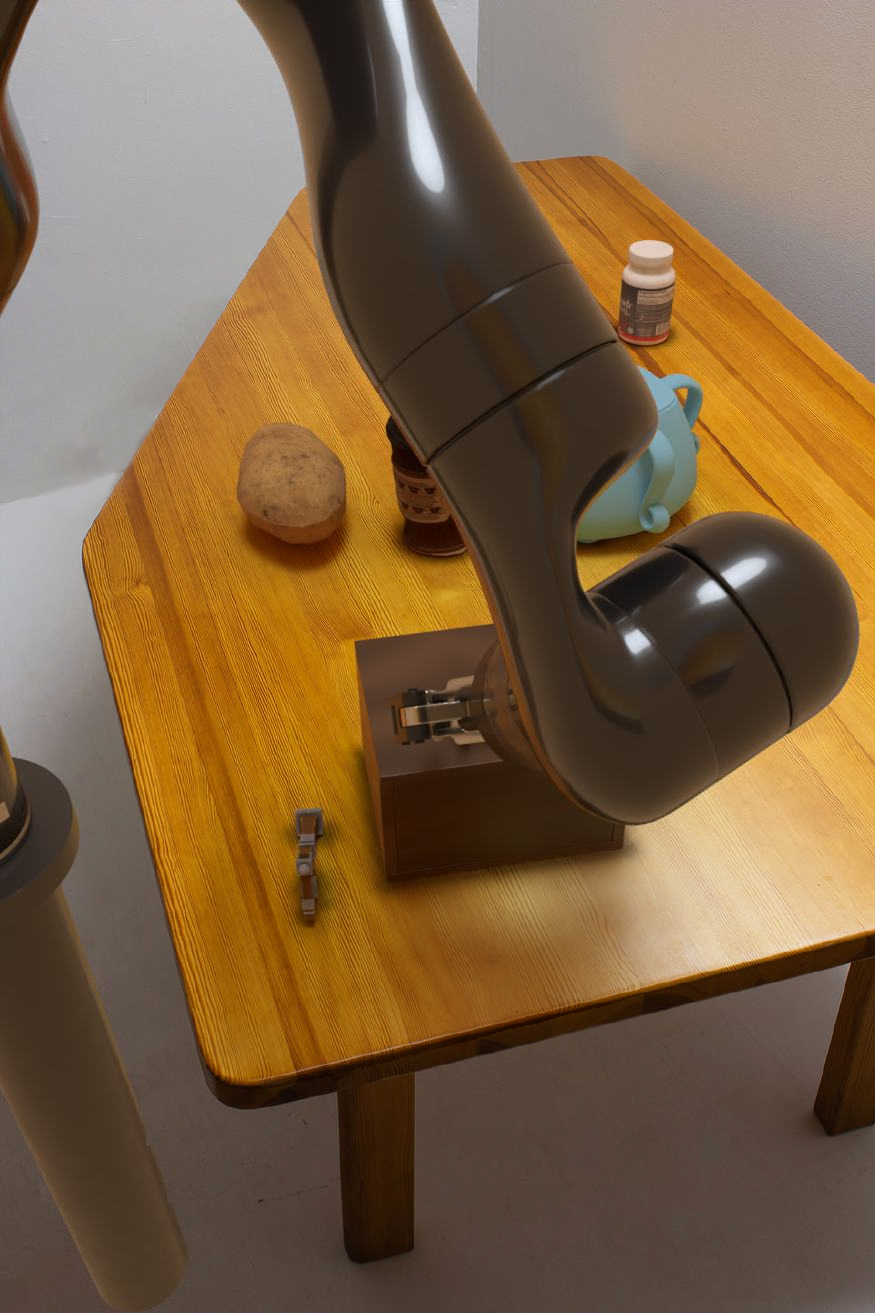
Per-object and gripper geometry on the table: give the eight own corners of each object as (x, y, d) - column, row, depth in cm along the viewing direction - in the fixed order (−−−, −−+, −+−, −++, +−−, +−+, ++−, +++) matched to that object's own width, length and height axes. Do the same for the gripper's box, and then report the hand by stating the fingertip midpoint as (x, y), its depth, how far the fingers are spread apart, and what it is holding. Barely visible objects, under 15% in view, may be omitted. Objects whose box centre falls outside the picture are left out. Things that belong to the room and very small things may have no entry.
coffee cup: (446, 579, 101) (444, 443, 93) (370, 545, 105) (361, 412, 97) (506, 530, 107) (509, 398, 98) (431, 500, 111) (428, 370, 102)
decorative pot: (551, 444, 118) (556, 312, 109) (712, 482, 112) (731, 345, 103) (479, 532, 107) (479, 393, 98) (654, 578, 101) (670, 434, 92)
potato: (255, 584, 102) (243, 503, 96) (231, 495, 112) (220, 418, 107) (369, 563, 103) (363, 484, 98) (335, 478, 114) (328, 402, 108)
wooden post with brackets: (293, 928, 74) (287, 860, 72) (299, 868, 81) (294, 806, 80) (323, 926, 74) (318, 858, 72) (326, 867, 81) (321, 804, 80)
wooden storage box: (622, 848, 79) (636, 740, 73) (386, 883, 77) (378, 776, 71) (577, 726, 88) (585, 621, 81) (363, 755, 86) (354, 650, 80)
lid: (640, 750, 72) (648, 685, 69) (380, 787, 70) (376, 722, 67) (585, 620, 81) (590, 558, 78) (354, 649, 80) (349, 586, 76)
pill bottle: (613, 324, 137) (620, 238, 131) (663, 322, 137) (673, 236, 131) (621, 348, 133) (629, 259, 126) (673, 346, 133) (683, 258, 126)
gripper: (711, 589, 55) (619, 627, 71) (397, 628, 53) (376, 658, 69) (735, 755, 54) (637, 756, 70) (420, 799, 52) (393, 789, 68)
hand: (508, 707), depth 70 cm, fingers open, 8 cm apart
